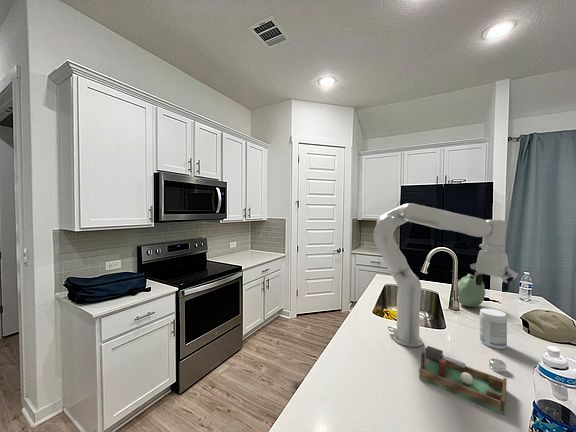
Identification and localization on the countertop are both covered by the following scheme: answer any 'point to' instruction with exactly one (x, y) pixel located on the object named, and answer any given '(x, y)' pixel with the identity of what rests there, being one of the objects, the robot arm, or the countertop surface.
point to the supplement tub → (493, 328)
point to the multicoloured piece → (441, 359)
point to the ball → (466, 378)
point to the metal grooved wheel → (497, 365)
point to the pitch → (481, 391)
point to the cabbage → (470, 291)
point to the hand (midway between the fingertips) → (491, 288)
